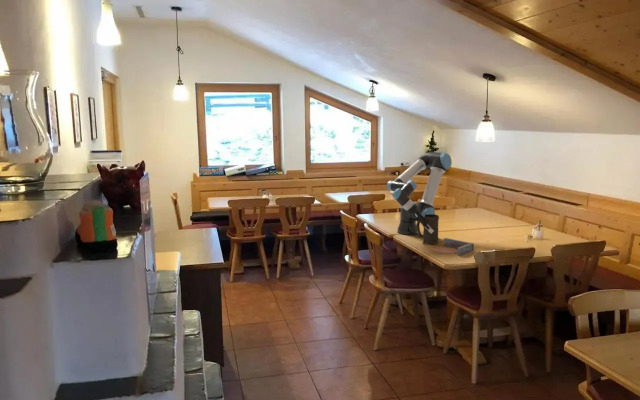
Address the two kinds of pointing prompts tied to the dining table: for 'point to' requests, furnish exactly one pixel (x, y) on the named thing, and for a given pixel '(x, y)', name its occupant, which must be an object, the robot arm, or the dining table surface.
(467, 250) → the wall corner
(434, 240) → the beer stein
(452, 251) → the terracotta mat
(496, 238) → the dining table surface
